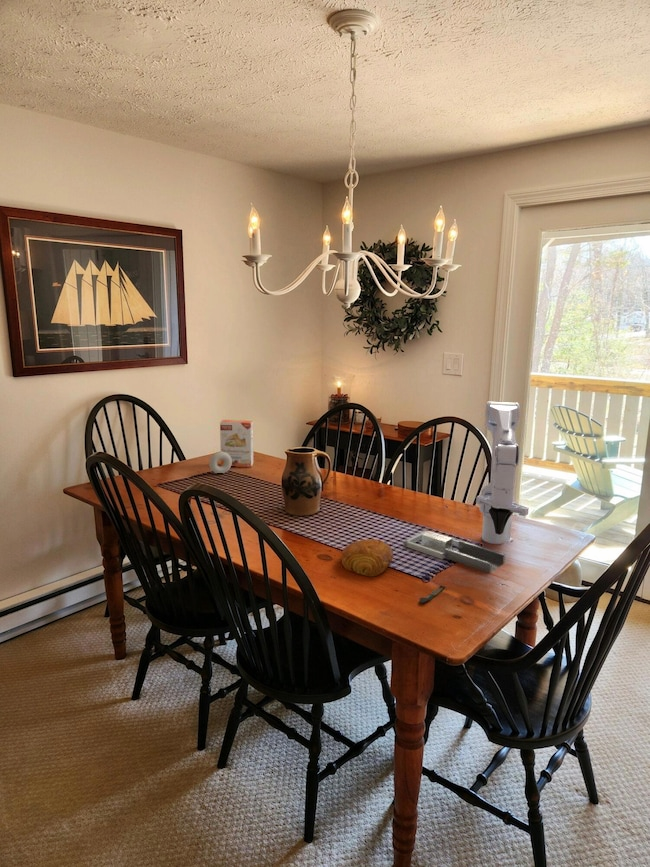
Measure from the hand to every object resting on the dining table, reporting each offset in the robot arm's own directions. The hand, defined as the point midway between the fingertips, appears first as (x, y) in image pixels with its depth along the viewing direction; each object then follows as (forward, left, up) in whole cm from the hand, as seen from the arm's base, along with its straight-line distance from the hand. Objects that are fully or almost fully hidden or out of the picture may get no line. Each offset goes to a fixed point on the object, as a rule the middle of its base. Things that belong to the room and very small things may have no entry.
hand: (499, 533), depth 158 cm
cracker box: (-12, -132, -10) cm, 133 cm away
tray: (+4, -18, -9) cm, 21 cm away
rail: (+4, -5, -9) cm, 11 cm away
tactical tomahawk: (+24, -5, -10) cm, 26 cm away
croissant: (+26, -26, -10) cm, 38 cm away
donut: (+1, -127, -10) cm, 127 cm away
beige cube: (+4, -19, -9) cm, 22 cm away
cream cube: (+4, -15, -9) cm, 18 cm away
